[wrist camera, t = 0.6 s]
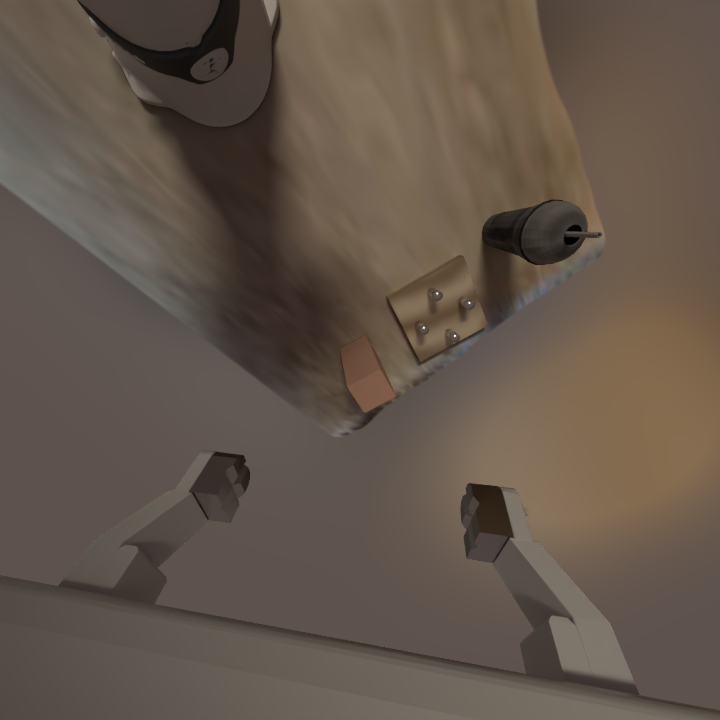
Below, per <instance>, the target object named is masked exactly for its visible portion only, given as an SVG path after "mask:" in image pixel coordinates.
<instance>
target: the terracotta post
mask: <svg viewBox="0 0 720 720" xmlns="http://www.w3.org/2000/svg"><path fill="white" fill-rule="evenodd" d="M340 352H341V358H342V363H343V368H344V374H345V379H346V385H347V388H348V389H349V391H350V392H351V394H352V395H353V397H354V398H355V400H356V401H357V403H358V404H359V406H360V407H361V409H362V410H363V412H364V413H366V412H368V411H370V410H372V409H374V408H375V407H377V406H379V405H381V404H383V403H385V402H387V401H389V400H391V399H392V398H394V397H396V395H395V392H394V390H393V388H392V386H391V384H390V381H389V379H388V377H387V375H386V373H385V370H384V368H383V366H382V364H381V362H380V359H379V357H378V355H377V354H376V352H375V350H374V348H373V347H372V345H371V343H370V341H369V340H368V338H367V336H366V335H364V336H362V337H360V338H358V339H356V340H355V341H353V342H351V343H349V344H347V345H346V346H344V347H342V348H340Z"/></svg>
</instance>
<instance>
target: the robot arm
mask: <svg viewBox="0 0 720 720" xmlns="http://www.w3.org/2000/svg"><path fill="white" fill-rule="evenodd" d="M77 1H78V2H79V4H80V5H81V6H82V8H83V9H84V10H85V11H86V12H87V14H88V15H89V20H90V22H91V24H92V25H93V27H94V29H95V30H96V31H97V33H98V34H99V35H100V36H101V37H106V38H107V40H108V42H109V44H110V46H111V48H112V50H113V53H112V55H113V57H114V58H115V60H116V61H117V62H118V63H119V64H120V66H121V68H122V70H123V72H124V74H125V76H126V78H127V80H128V82H129V84H130V86H131V88H132V89H133V91H134V93H135V94H136V95H137V96H138V97H139V98H140V99H141V100H142V101H143V102H145V103H147V104H150V105H154V106H160V107H168V108H171V109H173V110H175V111H177V112H179V113H180V114H182V115H184V116H185V117H187V118H189V119H191V120H193V121H195V122H197V123H200V124H203V125H207V126H213V127H226V126H231V125H235V124H238V123H240V122H242V121H244V120H245V119H247V118H248V117H250V116H251V115H252V114H253V113H254V112H255V111H256V110H257V108H258V107H259V106H260V104H261V102H262V101H263V99H264V97H265V95H266V92H267V89H268V86H269V82H270V77H271V69H272V48H271V44H272V35H273V32H274V29H275V26H276V23H277V19H278V14H279V2H278V0H77ZM245 462H246V460H245V457H244V455H237V454H229V453H222V452H216V451H207V450H203V451H202V452H201V453H199V454H198V456H197V457H196V459H195V460H194V462H193V463H192V465H191V466H190V468H189V469H188V470H187V472H186V473H185V475H184V476H183V478H182V479H181V480H180V482H179V483H178V485H177V486H176V488H175V489H174V490H169V491H167V492H166V493H164V494H163V495H161V496H160V497H158V498H157V499H155V500H154V501H152V502H151V503H149V504H148V505H146V506H145V507H143V508H141V509H140V510H138V511H137V512H135V513H134V514H132V515H131V516H129V517H128V518H126V519H125V520H123V521H122V522H120V523H119V524H117V525H116V526H114V527H113V528H111V529H110V530H108V531H107V532H105V533H104V534H102V535H101V536H99V537H98V538H96V539H95V541H94V542H93V543H92V544H91V546H90V547H89V548H88V549H87V551H86V552H85V553H84V554H83V556H82V557H81V558H80V560H79V561H78V562H77V563H76V565H75V566H74V567H73V568H72V569H71V571H70V572H69V573H68V574H67V576H66V577H65V578H64V579H63V581H62V582H61V583H60V584H59V585H58V586H55V585H49V584H44V583H39V582H34V581H28V580H23V579H18V578H12V577H7V576H2V575H0V720H720V710H716V709H711V708H705V707H700V706H695V705H689V704H684V703H678V702H673V701H668V700H662V699H658V698H652V697H647V696H642V695H640V694H639V692H638V690H637V687H636V685H635V682H634V680H633V678H632V675H631V673H630V671H629V668H628V666H627V664H626V661H625V658H624V656H623V654H622V651H621V649H620V647H619V644H618V642H617V639H616V637H615V634H614V632H613V629H612V627H611V625H610V623H609V622H608V621H607V620H606V619H605V617H604V616H603V615H602V614H601V613H600V612H599V611H598V609H597V608H596V607H595V606H594V605H593V604H592V603H591V601H590V600H589V599H588V598H587V597H586V596H585V595H584V594H583V593H582V591H581V590H580V589H579V588H578V587H577V586H576V584H575V583H574V582H573V581H572V580H571V579H570V578H569V576H568V575H567V574H566V573H565V572H564V571H563V570H562V569H561V567H560V566H559V565H558V564H557V563H556V562H555V561H554V559H553V558H552V557H551V556H550V555H549V554H548V553H547V551H545V549H544V548H543V547H542V546H541V545H540V544H539V542H537V541H533V539H532V536H531V533H530V530H529V526H528V523H527V520H526V517H525V514H524V511H523V507H522V504H521V501H520V498H519V495H518V492H517V491H516V489H513V488H505V487H498V486H491V485H482V484H472V483H469V484H467V487H466V495H464V496H463V498H462V501H461V520H462V524H463V526H464V527H465V528H466V529H467V531H466V533H465V535H464V543H465V550H466V557H467V559H473V560H478V561H484V562H490V563H494V564H493V566H494V567H495V569H496V570H497V572H498V573H499V575H500V577H501V578H502V580H503V581H504V583H505V584H506V586H507V587H508V589H509V591H510V592H511V594H512V595H513V597H514V599H515V600H516V602H517V603H518V605H519V607H520V608H521V610H522V611H523V613H524V614H525V616H526V617H527V619H528V621H529V622H530V624H531V625H532V627H533V628H534V631H533V632H531V633H530V634H529V635H528V636H527V637H526V638H524V639H523V640H522V642H521V643H520V647H521V652H522V656H523V661H524V666H525V671H526V674H523V673H519V672H513V671H508V670H503V669H498V668H492V667H487V666H481V665H476V664H471V663H466V662H460V661H455V660H449V659H444V658H439V657H434V656H428V655H423V654H418V653H412V652H407V651H402V650H396V649H391V648H385V647H380V646H375V645H370V644H364V643H359V642H354V641H348V640H343V639H337V638H332V637H327V636H321V635H316V634H311V633H306V632H300V631H295V630H290V629H284V628H279V627H274V626H268V625H263V624H257V623H252V622H247V621H241V620H236V619H231V618H226V617H220V616H215V615H210V614H204V613H199V612H194V611H188V610H183V609H178V608H172V607H167V606H161V605H156V604H155V602H156V600H157V598H158V596H159V595H160V593H161V591H162V589H163V587H164V585H165V584H166V576H165V575H164V574H163V573H162V572H161V571H160V570H159V569H158V567H159V566H160V565H161V564H162V563H163V562H164V561H166V560H167V559H168V558H169V557H170V556H171V555H172V554H173V553H174V552H175V551H176V550H178V549H179V548H180V547H181V546H182V545H183V544H184V543H185V542H186V541H188V540H189V539H190V538H191V537H192V536H193V535H194V534H195V533H196V532H197V531H198V530H199V529H201V528H202V527H203V526H204V525H205V524H206V523H207V522H208V520H212V521H221V522H229V523H230V522H231V521H232V519H233V516H234V514H235V512H236V510H237V508H238V506H239V501H238V498H239V497H240V496H242V495H243V494H244V493H245V491H246V489H247V487H248V484H249V480H250V471H249V468H248V467H246V466H245V465H244V463H245Z"/></svg>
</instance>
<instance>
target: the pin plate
mask: <svg viewBox="0 0 720 720" xmlns="http://www.w3.org/2000/svg"><path fill="white" fill-rule="evenodd" d="M386 297H387V299H388V301H389V303H390V304H391V306H392V308H393V310H394V312H395V314H396V316H397V318H398V320H399V322H400V324H401V326H402V328H403V330H404V332H405V334H406V336H407V338H408V340H409V342H410V344H411V346H412V348H413V350H414V352H415V354H416V356H417V358H418V360H419V361H420V362H421V361H423V360H425V359H427V358H429V357H431V356H433V355H434V354H436V353H438V352H440V351H442V350H444V349H446V348H447V347H449V346H451V345H453V344H455V343H457V342H459V341H460V340H462V339H464V338H466V337H468V336H470V335H472V334H473V333H475V332H477V331H479V330H481V329H483V328H485V327H486V326H488V324H487V322H486V319H485V316H484V313H483V310H482V307H481V305H480V302H479V299H478V296H477V293H476V290H475V288H474V285H473V282H472V279H471V276H470V273H469V270H468V268H467V265H466V262H465V259H464V256H461V255H458V256H457V257H455V258H453V259H451V260H450V261H448V262H446V263H444V264H442V265H441V266H439V267H437V268H435V269H434V270H432V271H430V272H428V273H427V274H425V275H423V276H421V277H420V278H418V279H416V280H414V281H413V282H411V283H409V284H407V285H406V286H404V287H402V288H400V289H399V290H397V291H395V292H393V293H392V294H390V295H388V296H386Z"/></svg>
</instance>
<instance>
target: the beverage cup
mask: <svg viewBox="0 0 720 720" xmlns="http://www.w3.org/2000/svg"><path fill="white" fill-rule="evenodd" d="M587 228H588V223H587V219H586V216H585V214H584V213H583V212H582V210H581V209H580V208H579V207H578V206H576V205H574V204H572V203H570V202H567V201H563V200H549V201H546V202H543V203H541V204H539V205H536V206H533V207H529V208H524V209H519V210H513V211H508V212H503V213H500V214H496V215H493V216H492V217H490V218H489V219H488V220H487V221H486V222H485V224H484V227H483V231H482V235H483V239H484V241H485V242H486V243H487V244H488V245H491V246H493V247H495V248H498V249H501V250H504V251H507V252H510V253H512V254H515V255H518V256H520V257H522V258H523V259H525V260H527V261H528V262H530V263H532V264H534V265H545V264H553V263H556V262H559V261H562V260H565V259H566V258H568V257H569V256H571V255H572V254H574V253H575V252H576V251H577V250H578V248H579V247H580V246H581V245H582V243H583V241H584V240H585V238H600V237H601V236H602V233H601V232H587Z"/></svg>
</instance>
